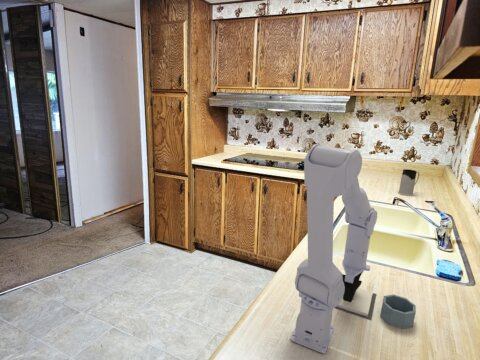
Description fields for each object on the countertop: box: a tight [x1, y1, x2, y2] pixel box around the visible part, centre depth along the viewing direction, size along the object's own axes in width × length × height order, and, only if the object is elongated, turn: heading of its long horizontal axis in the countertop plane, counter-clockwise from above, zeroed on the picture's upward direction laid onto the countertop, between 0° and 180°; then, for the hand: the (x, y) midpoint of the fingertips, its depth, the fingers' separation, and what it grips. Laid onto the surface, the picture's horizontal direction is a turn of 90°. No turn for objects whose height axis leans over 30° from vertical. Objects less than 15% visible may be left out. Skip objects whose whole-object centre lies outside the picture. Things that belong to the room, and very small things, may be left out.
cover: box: [337, 287, 374, 317], centre depth 87 cm, size 11×11×5 cm
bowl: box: [379, 294, 417, 330], centre depth 80 cm, size 7×7×4 cm
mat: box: [334, 292, 377, 321], centre depth 88 cm, size 13×13×1 cm
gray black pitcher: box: [397, 168, 420, 197], centre depth 197 cm, size 9×14×15 cm, turn 117°
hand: (349, 293), depth 87 cm, fingers open, 7 cm apart
